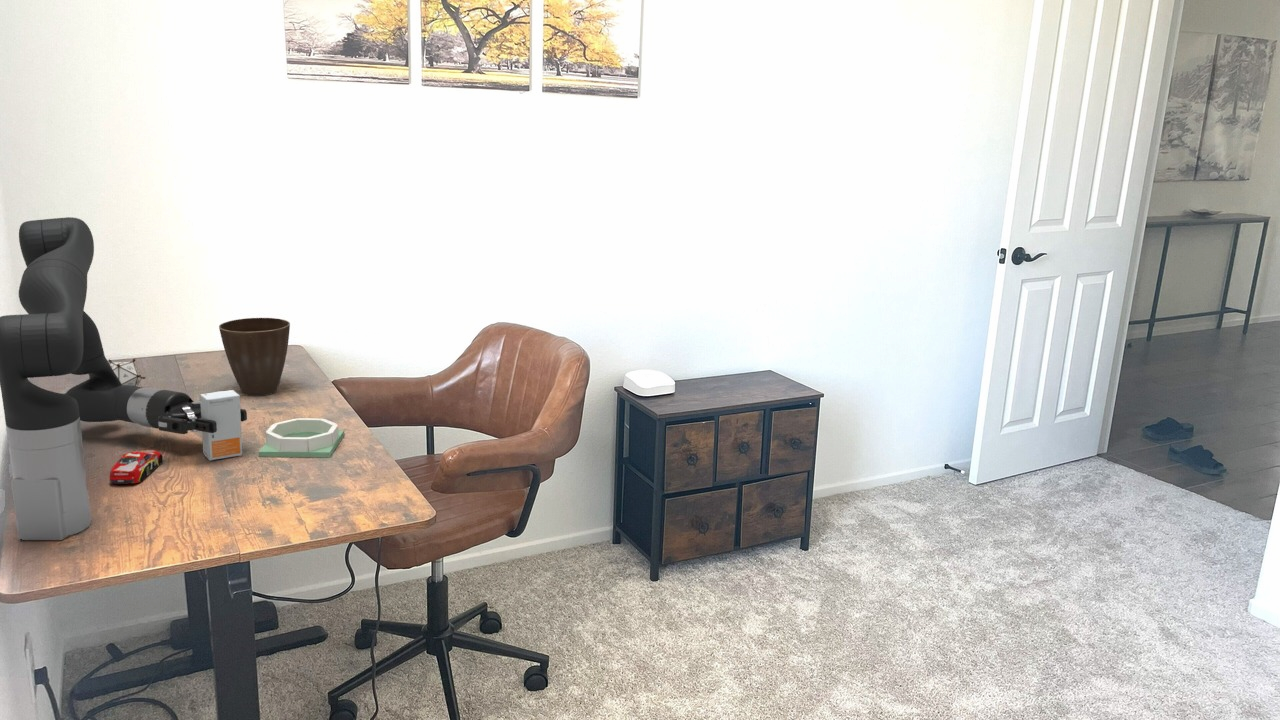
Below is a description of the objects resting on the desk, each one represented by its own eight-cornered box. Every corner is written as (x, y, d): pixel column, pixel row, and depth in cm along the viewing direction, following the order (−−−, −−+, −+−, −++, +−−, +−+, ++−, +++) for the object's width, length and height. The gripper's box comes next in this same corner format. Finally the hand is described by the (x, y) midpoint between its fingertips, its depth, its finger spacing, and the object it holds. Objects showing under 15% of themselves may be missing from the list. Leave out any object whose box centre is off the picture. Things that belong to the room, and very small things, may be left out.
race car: (136, 460, 168) (135, 440, 167) (167, 461, 169) (166, 440, 168) (103, 488, 155) (101, 466, 154) (137, 488, 156) (135, 466, 155)
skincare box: (209, 461, 168) (205, 399, 165) (203, 454, 171) (198, 393, 168) (243, 455, 172) (240, 394, 169) (237, 449, 175) (233, 389, 172)
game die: (128, 412, 204) (119, 385, 197) (95, 396, 205) (85, 368, 197) (157, 385, 210) (149, 358, 202) (125, 369, 211) (116, 342, 203)
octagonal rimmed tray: (329, 457, 173) (329, 439, 172) (258, 456, 172) (257, 439, 171) (344, 434, 186) (343, 418, 185) (278, 434, 184) (277, 417, 183)
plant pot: (251, 405, 201) (246, 334, 198) (209, 392, 209) (204, 324, 205) (307, 390, 214) (303, 324, 210) (266, 379, 221) (262, 314, 217)
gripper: (127, 399, 166) (200, 412, 162) (188, 381, 180) (257, 392, 175) (130, 438, 168) (202, 452, 163) (190, 417, 182) (259, 429, 177)
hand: (230, 421), depth 169 cm, fingers closed on skincare box, 7 cm apart
